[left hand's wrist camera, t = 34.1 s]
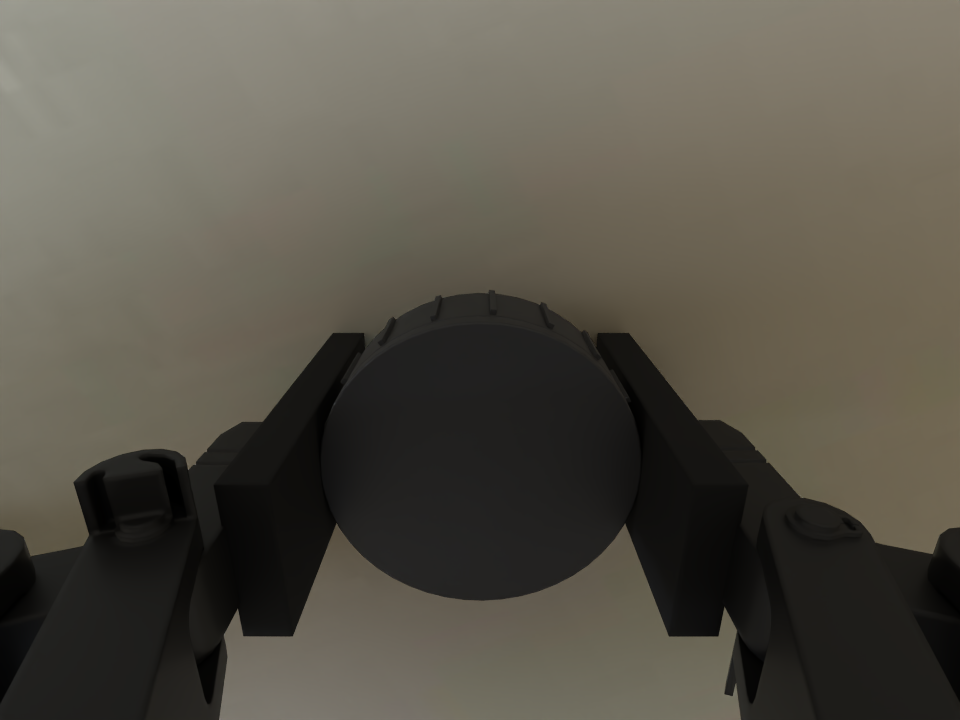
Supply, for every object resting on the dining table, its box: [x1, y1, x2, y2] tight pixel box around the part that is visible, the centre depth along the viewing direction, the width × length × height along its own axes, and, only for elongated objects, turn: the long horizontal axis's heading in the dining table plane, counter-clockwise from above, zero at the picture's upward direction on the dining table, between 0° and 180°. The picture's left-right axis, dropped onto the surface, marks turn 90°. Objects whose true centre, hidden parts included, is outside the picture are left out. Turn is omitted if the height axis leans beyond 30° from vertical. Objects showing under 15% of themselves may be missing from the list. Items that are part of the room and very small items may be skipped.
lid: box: [320, 290, 642, 600], centre depth 11 cm, size 6×6×2 cm
